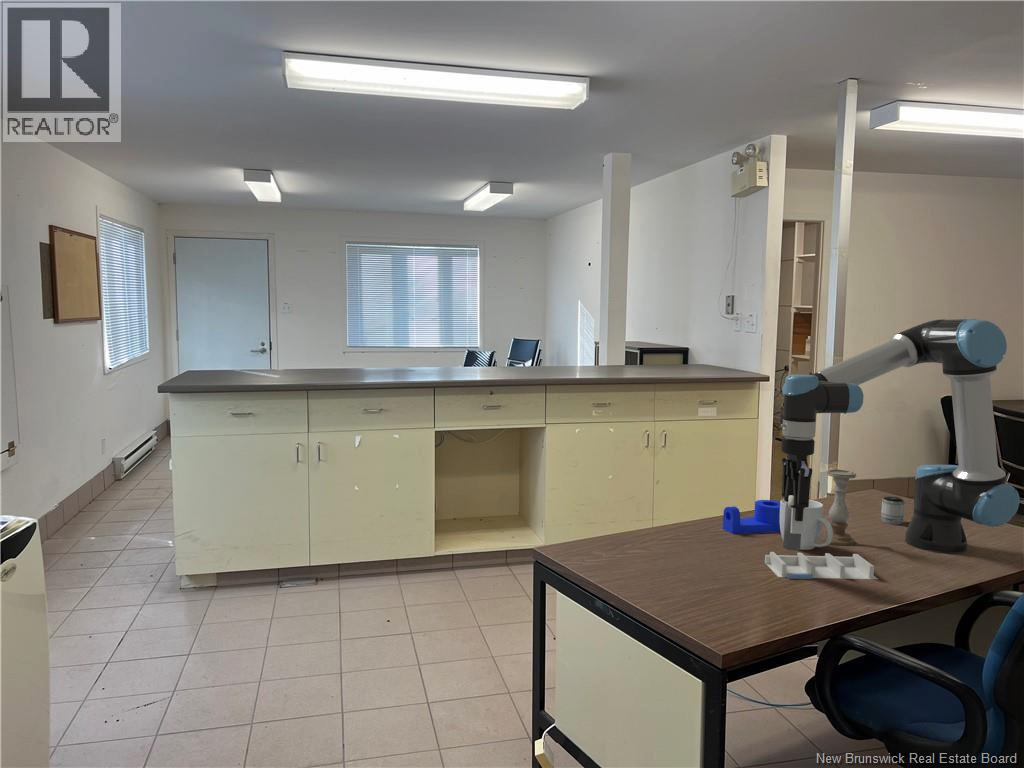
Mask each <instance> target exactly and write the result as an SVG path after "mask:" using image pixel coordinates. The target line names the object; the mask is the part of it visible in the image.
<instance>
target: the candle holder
mask: <svg viewBox="0 0 1024 768" xmlns="http://www.w3.org/2000/svg"><path fill="white" fill-rule="evenodd" d="M826 475H827V476H829V477H832V480H833V481H834V483H835V486H834V487H833V489H832V490H833V491H834V500H833V503H832V505H831V507H830V509H829V511H828V517H829V518H830V520H831V521H829V522H830V524H831V526H832V530H833V538H832V541H831V542H830V544H829V545H834V546H840V547H849V546H853V545H855V542H856V540H855V538H853V537H852V536H851V534H849V533H848V532H846V529H847V527H849V525H848V523H847V522H848V520H849V519H850V517H851V515H850V511H849V509H848V506H847V502H846V496H847V495H846V494H847V492H849V491H848V488H847V484H848V483H849V482H850V479H855V478H857V473H856V472H854V471H850V470H846V469H829V470H828V469H827V471H826ZM827 537H828V532H827V531H825V532H824V533H823V534H821V535H820V539H821V541H822V542H823V543H825V542H826V540H827Z"/></svg>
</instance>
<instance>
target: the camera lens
mask: <svg viewBox="0 0 1024 768" xmlns="http://www.w3.org/2000/svg"><path fill="white" fill-rule="evenodd" d="M881 501H882V502H881V512H880V517H881V521H882V523H884V524H888V525H894V526H895V525H896V526H898V525H899V524H900V525H902V524H903V522H904V515H905V503H906V502H905V500H904V499H902V498H901V497H897V496H886V497H885V496H884V497H883V498H882V499H881Z"/></svg>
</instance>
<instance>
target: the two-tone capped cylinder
mask: <svg viewBox="0 0 1024 768" xmlns="http://www.w3.org/2000/svg"><path fill="white" fill-rule="evenodd" d="M791 505H794V496H793V495H789V500H788V507H785V522H784V539H782V541H783V542H782V548H784V549H786V550H788V551H789V550H790V551H800V545H801V534H793V533H790V531H791V513H792V508H791Z"/></svg>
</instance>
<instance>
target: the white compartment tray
mask: <svg viewBox="0 0 1024 768" xmlns="http://www.w3.org/2000/svg"><path fill="white" fill-rule="evenodd" d="M764 556H765V557H764V564H766V566H767V567H768V568H769V569H770V570H771V571H772V572H773V573H774V574H775V575H776V576H777V578H786V579H791V580H792V579H795V580H796V579H797V580H813V579H842V580H843V579H844V580H845V579H847V580H849V579H850V580H852V579H853V580H879V578H877V577H876V576H875V575H874V573H875V565H873V564H872V563H870V561H867V560H866V559H864V558H863V556H860V554H858V553H852V556H833V555H832V554H831V553H829V552H828V553H827V552H825V554H824V555H822V556H821V555H805V554H804V553H803V552H797V555H788V554H787V555H782V554H780V555H779V554H778V555H777V554H776V553H775V552H774V551H770V552H769V554H764Z"/></svg>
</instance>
